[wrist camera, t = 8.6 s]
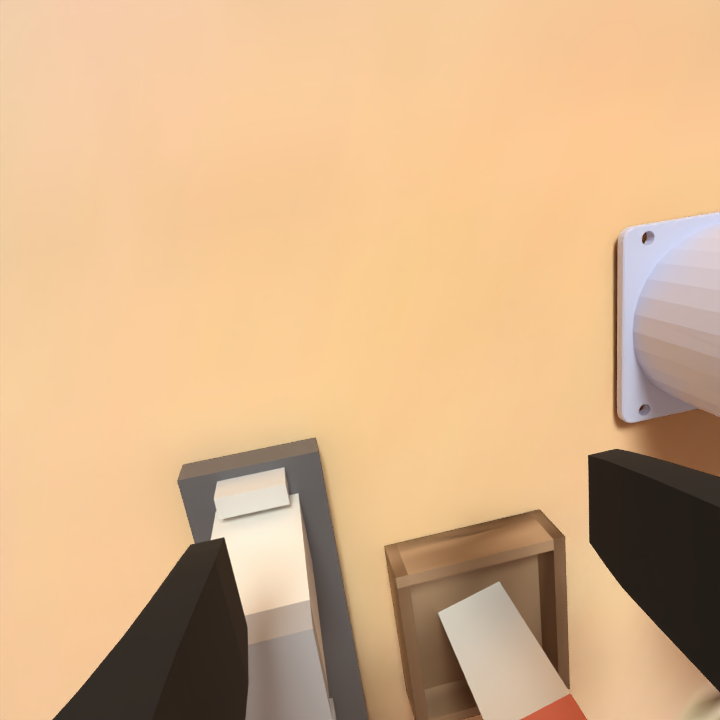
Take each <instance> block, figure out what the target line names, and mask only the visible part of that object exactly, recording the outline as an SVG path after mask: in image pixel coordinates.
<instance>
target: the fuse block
mask: <svg viewBox="0 0 720 720" xmlns="http://www.w3.org/2000/svg"><path fill="white" fill-rule="evenodd" d="M177 481H178V485H179V488H180V492H181V495H182V499H183V503H184V506H185V510H186V513H187V517H188V520H189V524H190V528H191V531H192V535H193V538H194V542H195V544H196V543H200V542H205V541H209V540H211V536H212V530H213V524H214V519H215V513H216V511H217V514H218V518H219V520H221V519H225V518H230V517H234V516H239V515H243V514H248V513H252V512H257V511H261V510H266V509H270V508H275V507H280V506H284V505H289V504H290V500H289V495H293V494H297V493H298V494H299V499H300V504H301V509H302V514H303V519H304V524H305V528H306V533H307V538H308V543H309V548H310V553H311V558H312V564H313V572H314V580H315V588H316V596H317V604H318V612H319V620H320V628H321V636H322V643H323V651H324V659H325V667H326V675H327V683H328V691H329V699H330V707H331V715H332V719H331V720H368V716H367V711H366V705H365V700H364V695H363V689H362V684H361V678H360V673H359V668H358V662H357V657H356V651H355V646H354V641H353V635H352V630H351V624H350V619H349V614H348V608H347V603H346V597H345V592H344V587H343V581H342V576H341V571H340V565H339V560H338V554H337V549H336V544H335V538H334V533H333V527H332V522H331V517H330V511H329V506H328V500H327V495H326V490H325V484H324V479H323V473H322V468H321V463H320V457H319V452H318V447H317V442H316V438H311V439H306V440H301V441H296V442H291V443H287V444H282V445H277V446H272V447H267V448H262V449H257V450H253V451H248V452H243V453H238V454H233V455H228V456H223V457H219V458H214V459H209V460H204V461H199V462H194V463H189V464H184V465H183V466H182V469H181V472H180V475H179V477H178V480H177Z"/></svg>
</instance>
